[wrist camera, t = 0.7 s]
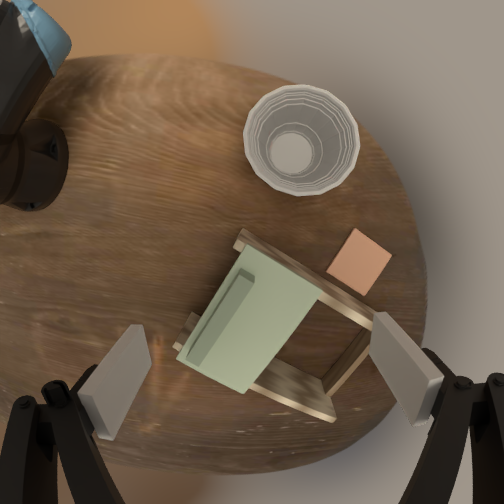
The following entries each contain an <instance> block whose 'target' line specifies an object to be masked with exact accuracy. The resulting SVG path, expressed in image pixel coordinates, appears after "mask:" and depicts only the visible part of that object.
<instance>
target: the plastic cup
mask: <svg viewBox="0 0 504 504" xmlns="http://www.w3.org/2000/svg"><path fill="white" fill-rule="evenodd" d="M243 138H244V147H245V155H246V157H247V159H248V160H249V162H250V164H251V166H252V168H253V169H254V171H255V173H256V175H258V176H259V177H260V178H261V179H263V180H264V181H265V182H266V183H268V184H269V185H270V186H271V187H272V188H274V189H275V190H279V191H282V192H285V193H288V194H291V195H295V196H307V195H320V194H322V193H324V192H326V191H328V190H330V189H332V188H334V187H336V186H338V185H340V184H341V183H342V182H343V181H344V179H345V178H346V177H347V176H348V174H349V173H350V172H351V171H352V170H353V168H354V167H355V163H356V160H357V156H358V153H359V149H360V141H359V133H358V127H357V123H356V121H355V120H354V118H353V116H352V115H351V113H350V111H349V110H348V108H347V106H346V105H345V104H344V103H343V102H341V101H340V100H339V99H338V98H336V97H335V96H334V95H332V94H331V93H330V92H328V91H326V90H323V89H320V88H317V87H313V86H310V85H307V84H305V85H289V86H283V87H280V88H278V89H276V90H274V91H272V92H270V93H268V94H266V95H264V96H263V97H262V98H261V99H260V100H259V102H258V103H257V104H256V105H255V106H254V107H253V108H252V110H251V111H250V112H249V115H248V118H247V121H246V124H245V128H244V131H243Z"/></svg>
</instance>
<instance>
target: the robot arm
mask: <svg viewBox="0 0 504 504" xmlns="http://www.w3.org/2000/svg"><path fill="white" fill-rule="evenodd" d="M71 46H72V44H71V40H70V37H69V36H68V35H67V33H66V32H65V31H64V30H63V29H62V27H61V26H60V25H59V24H58V23H57V22H56V21H55V20H54V19H53V18H52V17H51V16H49V15H48V14H47V13H46V12H45V11H44V10H43V9H41V8H40V7H38V6H37V4H35V3H34V2H33V1H32V0H11V3H9V2H8V1H6V0H0V204H4V205H7V206H10V207H12V208H15V209H18V210H21V211H36V210H40V209H43V208H45V207H47V206H48V205H49V204H50V203H51V202H52V201H53V200H54V199H55V198H56V196H57V195H58V193H59V192H60V190H61V188H62V185H63V183H64V180H65V176H66V172H67V167H68V147H67V142H66V139H65V136H64V134H63V132H62V130H61V129H60V128H59V127H58V126H57V125H56V124H55V123H53V122H50V121H47V120H42V119H33V120H29V121H25V120H26V118H27V116H28V114H29V113H30V111H31V109H32V108H33V106H34V105H35V103H36V101H37V100H38V98H39V97H40V95H41V94H42V92H43V91H44V89H45V88H46V86H47V85H48V83H49V82H50V80H51V79H52V78H54V77H55V75H56V71H57V70H58V68H59V67H60V65H61V64H62V63H63V61H64V60H65V58H66V57H67V56H68V54H69V52H70V50H71ZM24 121H25V122H24ZM369 355H370V357H371V358H372V360H373V361H374V363H375V365H376V366H377V368H378V370H379V371H380V373H381V374H382V376H383V378H384V379H385V381H386V383H387V384H388V386H389V388H390V389H391V391H392V393H393V394H394V396H395V398H396V399H397V401H398V403H399V404H400V406H401V408H402V410H403V411H404V413H405V414H406V416H407V418H408V420H409V422H410V423H411V425H412V427H416V426H418V425H422V424H425V423H427V421H428V419H429V416H430V414H432V416H433V417H434V421H433V423H432V426H431V428H430V430H429V432H428V438H427V441H426V443H425V446H424V449H423V451H422V453H421V456H420V458H419V461H418V463H417V466H416V468H415V470H414V473H413V475H412V477H411V479H410V481H409V483H408V486H407V488H406V490H405V492H404V494H403V496H402V498H401V500H400V502H399V503H398V504H448V502H449V499H450V496H451V493H452V490H453V487H454V484H455V481H456V477H457V474H458V471H459V466H460V463H461V459H462V455H463V451H464V447H465V443H466V438H467V433H468V428H470V438H471V449H472V468H473V504H504V374H502V373H492V374H490V375H489V377H488V378H487V381H486V383H479V384H474V383H473V381H472V380H471V379H469V378H467V377H464V376H455V374H454V373H453V372H452V371H451V370H450V369H449V368H448V367H447V366H446V365H445V364H444V363H443V361H441V359H440V358H439V357H438V356H437V355H436V354H435V353H434V352H433V351H431V350H429V349H427V348H422V349H420V348H419V347H418V346H417V345H416V344H415V342H414V341H413V340H412V339H411V338H410V337H409V336H408V335H407V334H406V333H405V332H404V331H403V329H402V328H401V327H400V326H399V325H398V324H397V323H396V322H395V321H394V320H393V319H392V318H391V317H390V316H389V315H388V314H387V312H378V313H374V316H373V325H372V333H371V341H370V348H369ZM151 365H152V362H151V358H150V354H149V350H148V346H147V342H146V337H145V333H144V328H143V325H135V324H131V325H130V326H129V327H128V329H127V330H126V331H125V332H124V334H123V335H122V336H121V337H120V338H119V340H118V341H117V342H116V343H115V345H114V346H113V347H112V349H111V350H110V351H109V352H108V354H107V355H106V356H105V357H104V359H103V360H102V361H101V363H100V364H99V365H95V364H94V365H93V366H91V367H90V368H88V369H87V370H86V371H85V372H84V374H83V375H82V376H81V377H80V379H79V381H77V382H76V384H75V385H74V386H73V387H72V389H71V390H70V391H69V388H68V386H67V384H66V383H65V382H64V381H62V380H54V381H51V382H48V383H47V384H45V385H44V386H43V387H42V390H41V393H42V395H43V397H44V399H45V401H46V403H47V404H37V402H36V400H35V398H34V397H32V396H28V395H26V396H22V397H19V398H18V399H17V400H16V401H15V402H14V404H13V407H12V411H11V414H10V418H9V421H8V425H7V429H6V433H5V437H4V441H3V446H2V450H1V455H0V504H58V490H57V457H58V452H59V456H60V460H61V463H62V467H63V470H64V473H65V476H66V479H67V482H68V485H69V488H70V491H71V494H72V496H73V499H74V502H75V504H125V502H124V501H123V499H122V497H121V495H120V493H119V491H118V489H117V488H116V486H115V484H114V482H113V480H112V478H111V476H110V474H109V472H108V470H107V468H106V466H105V463H104V461H103V459H102V457H101V455H100V452H99V450H98V448H97V446H96V443H95V441H94V439H93V437H92V433H93V431H94V429H95V431H96V433H97V435H98V437H99V438H103V439H107V440H112V441H113V440H114V438H115V436H116V434H117V432H118V430H119V428H120V426H121V424H122V422H123V420H124V418H125V416H126V414H127V412H128V410H129V408H130V406H131V404H132V402H133V400H134V398H135V396H136V394H137V392H138V390H139V388H140V386H141V384H142V383H143V381H144V379H145V377H146V375H147V373H148V371H149V369H150V367H151Z"/></svg>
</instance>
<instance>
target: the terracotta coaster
mask: <svg viewBox="0 0 504 504" xmlns="http://www.w3.org/2000/svg"><path fill="white" fill-rule="evenodd" d="M391 256H392V255H391V254H390V253H388V252H387V251H386V250H384V249H383V248H382V247H380V246H379V245H378V244H376V243H375V242H374V241H372V240H371V239H369V238H368V237H367V236H365V235H364V234H363V233H361V232H360V231H358V230H357V229H356V228H353V229H352V231H351V232H350V234H349V235H348V237H347V239H346V240H345V242H344V243H343V245H342V246H341V248H340V249H339V251H338V252H337V254H336V255H335V257H334V258H333V260H332V261H331V263H330V264H329V266H328V267H327V269H326V270H325V271H326V272H328V273H329V274H331V275H332V276H334V277H335V278H337V279H338V280H340V281H342V282H343V283H345V284H346V285H348V286H349V287H351V288H352V289H354V290H355V291H357V292H359V293H360V294H362V295H363V296H365V295H366V293H367V292H368V291H369V289H370V288H371V286H372V285H373V283H374V282H375V280H376V279H377V277H378V276H379V274H380V273H381V271H382V270H383V268H384V267H385V265H386V264H387V262H388V261H389V259H390V258H391Z"/></svg>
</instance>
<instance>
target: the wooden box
mask: <svg viewBox="0 0 504 504" xmlns="http://www.w3.org/2000/svg"><path fill="white" fill-rule="evenodd" d="M247 243H249V244H251V245H253V246H254V247H256V248H257V249H259V250H261V251H262V252H264V253H266V254H267V255H269V256H271V257H272V258H274V259H275V260H277V261H279V262H280V263H282V264H284V265H285V266H287V267H288V268H290V269H292V270H293V271H295V272H297V273H298V274H300V275H301V276H303V277H305V278H306V279H308V280H310V281H311V282H313V283H314V284H316V285H318V286H319V287H321V288H322V290H323V292H322V293H321V295H320V296H319V297H318V300H320V301H322V302H323V303H325V304H327V305H328V306H330V307H332V308H333V309H335V310H337V311H338V312H340V313H342V314H343V315H345V316H347V317H348V318H350V319H352V320H353V321H355V322H357V323H358V324H360V325H362V326H363V327H364V328H363V329H362V331H361V332H360V333H359V334H358V336H357V337H356V338H355V340H354V341H353V342H352V343H351V345H350V346H349V347H348V348H347V350H346V351H345V352H344V353H343V354H342V356H341V357H340V358H339V359H338V361H337V362H336V363H335V364H334V365H333V366H332V368H331V369H330V370H329V371H328V372H327V373H326V375H325V376H324V377H323V378H322V379H321V380H320V379H318V378H316V377H314V376H312V375H310V374H307V373H305V372H303V371H301V370H299V369H297V368H295V367H293V366H291V365H289V364H287V363H285V362H283V361H281V360H279V359H277V358H275V357H273V359H272V360H271V361H270V362H269V364H268V365H267V366H266V367H265V369H264V370H263V371H262V372H261V374H260V375H259V376H258V377H257V379H256V380H255V381H254V382H253V383H252V385H251V386H250V387H249V388H250V389H252V390H254V391H256V392H258V393H261V394H263V395H265V396H267V397H269V398H272V399H274V400H276V401H278V402H281V403H283V404H285V405H288V406H290V407H293V408H295V409H297V410H300V411H302V412H305V413H307V414H310V415H312V416H315V417H318V418H320V419H323V420H325V421H328V422H331V423H333V422H334V421H335V420H336V419H337V417H336V414H335V411H334V408H333V404H332V401H331V398H330V397H331V396H332V395H333V394H334V393H335V391H336V390H337V389H338V388H339V387H340V386H341V385H342V384H343V383H344V382H345V380H346V379H347V378H348V377H349V376H350V375H351V374H352V373H353V371H354V370H355V369H356V368H357V367H358V366H359V364H360V363H361V362H362V361H363V360H364V358H365V357H366V356H367V355H368V354H369V348H370V341H371V333H372V325H373V316H374V313H378V312H376V311H375V310H373V309H371V308H370V307H368V306H367V305H365V304H364V303H362V302H361V301H359V300H357V299H356V298H354V297H353V296H351V295H350V294H348V293H346V292H345V291H343V290H342V289H340V288H339V287H337V286H335V285H334V284H332V283H331V282H329V281H328V280H326V279H324V278H323V277H321V276H320V275H318V274H316V273H315V272H313V271H312V270H310V269H308V268H307V267H305V266H304V265H302V264H300V263H299V262H297V261H296V260H294V259H292V258H291V257H289V256H288V255H286V254H284V253H283V252H281V251H280V250H278V249H276V248H275V247H273V246H272V245H270V244H268V243H267V242H265V241H264V240H262V239H260V238H259V237H257V236H255V235H254V234H252V233H251V232H249V231H247V230H246V229H244V228H242V230H241V231H240V233H239V235H238V237H237V239H236V241H235V243H234V245H233V247H232V248H234V249H236V250H237V251H239V252H242V251H243V249H244V247H245V246H246V244H247ZM200 318H201V316H199V315H197V314H196V313H194V312H191V314H190V315H189V317H188V319H187V321H186V323H185V324H184V326H183V328H182V330H181V332H180V334H179V336H178V338H177V339H176V341H175V343H174V345H173V348H174V349H176V350H178V351H181V349H182V347H183V346H184V344H185V342H186V341H187V339H188V338H189V336H190V334H191V333H192V331H193V329H194V328H195V326H196V325H197V323H198V321H199V320H200Z"/></svg>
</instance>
